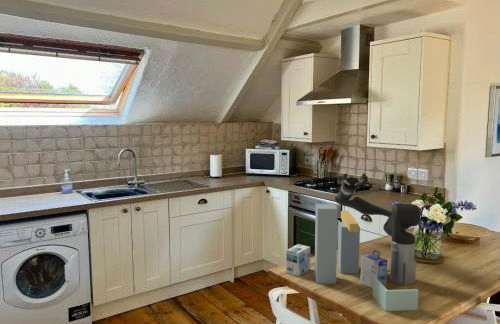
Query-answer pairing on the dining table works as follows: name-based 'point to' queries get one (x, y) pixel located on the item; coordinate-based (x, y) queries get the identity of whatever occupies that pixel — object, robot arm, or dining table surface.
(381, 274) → the ink cartridge box
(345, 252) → the low post
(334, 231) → the tall post
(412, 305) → the l-shaped corner panel
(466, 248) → the dining table surface
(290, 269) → the light bulb box
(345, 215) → the rail
